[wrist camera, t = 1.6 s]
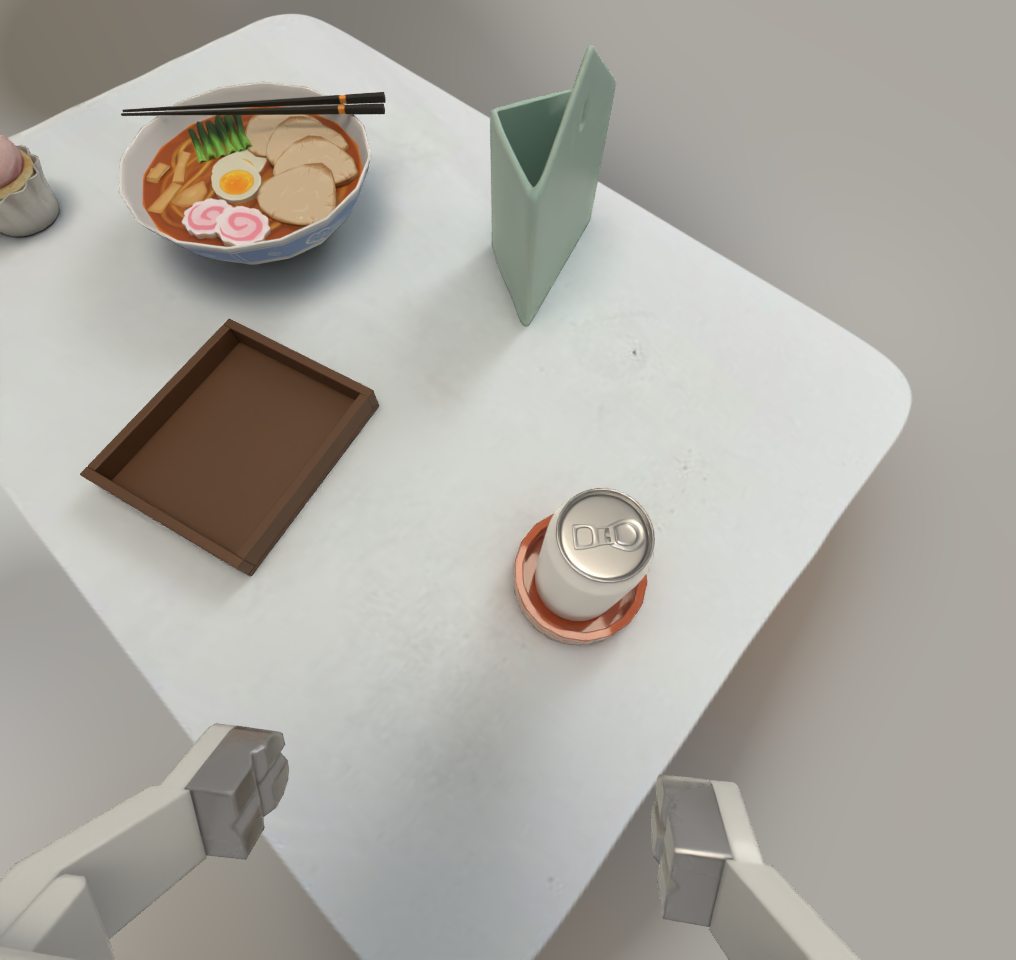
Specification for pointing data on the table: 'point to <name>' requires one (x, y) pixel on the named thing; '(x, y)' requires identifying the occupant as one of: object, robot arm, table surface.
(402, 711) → the table surface
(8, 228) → the cupcake
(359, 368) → the table surface
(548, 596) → the can
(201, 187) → the ramen bowl
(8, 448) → the table surface
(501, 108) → the planter
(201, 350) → the tray
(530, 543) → the bowl
